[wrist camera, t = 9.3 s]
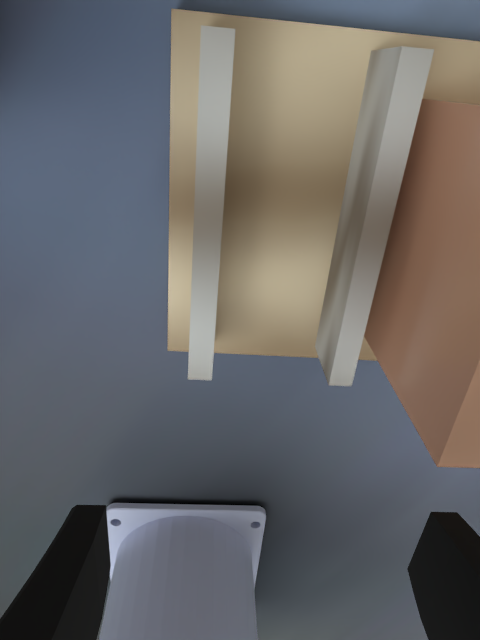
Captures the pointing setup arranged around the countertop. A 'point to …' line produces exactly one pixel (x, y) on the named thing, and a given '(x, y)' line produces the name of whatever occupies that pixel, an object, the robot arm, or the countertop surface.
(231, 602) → the robot arm
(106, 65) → the countertop surface
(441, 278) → the upright peach slab
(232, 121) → the dish rack
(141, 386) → the countertop surface
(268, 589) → the countertop surface
